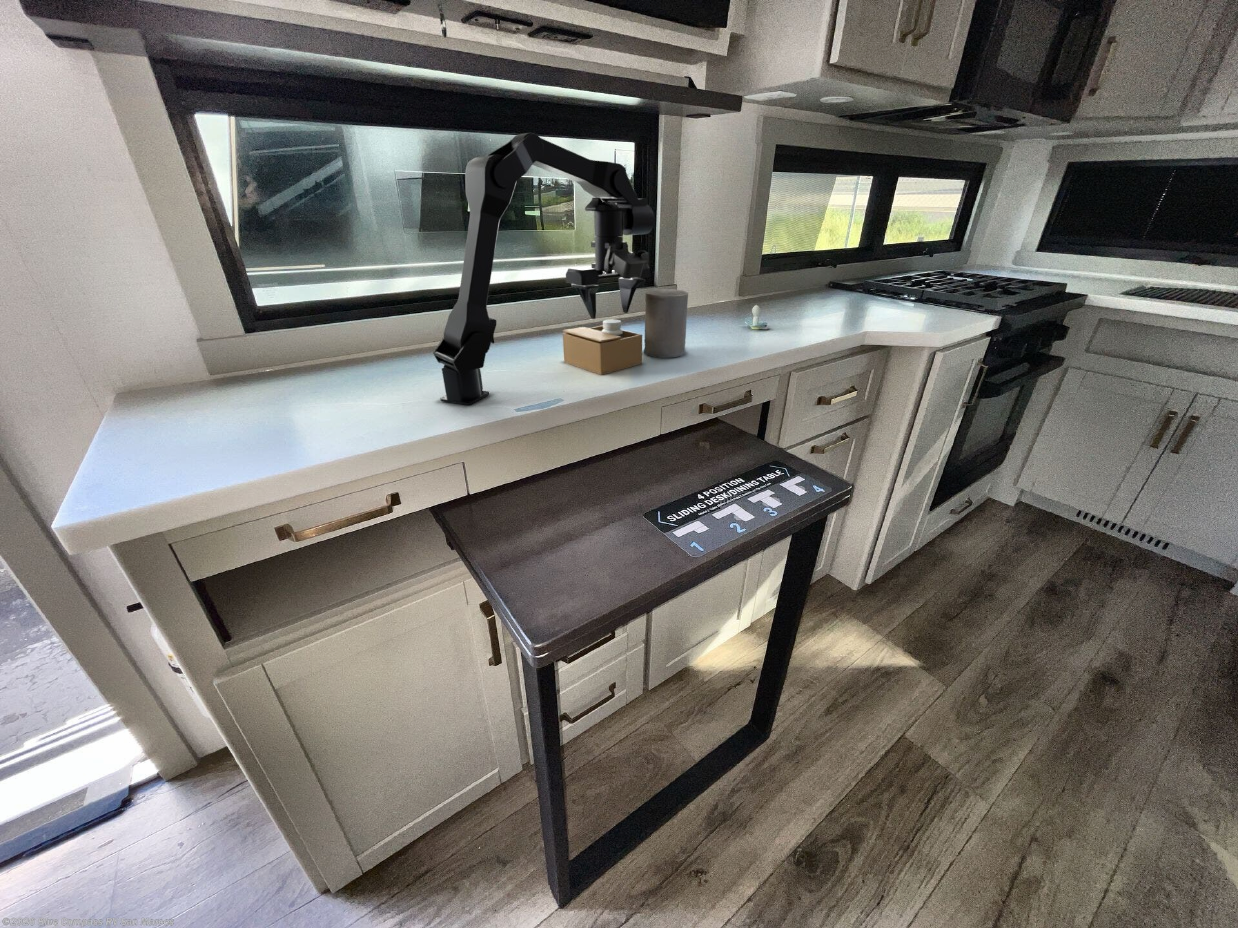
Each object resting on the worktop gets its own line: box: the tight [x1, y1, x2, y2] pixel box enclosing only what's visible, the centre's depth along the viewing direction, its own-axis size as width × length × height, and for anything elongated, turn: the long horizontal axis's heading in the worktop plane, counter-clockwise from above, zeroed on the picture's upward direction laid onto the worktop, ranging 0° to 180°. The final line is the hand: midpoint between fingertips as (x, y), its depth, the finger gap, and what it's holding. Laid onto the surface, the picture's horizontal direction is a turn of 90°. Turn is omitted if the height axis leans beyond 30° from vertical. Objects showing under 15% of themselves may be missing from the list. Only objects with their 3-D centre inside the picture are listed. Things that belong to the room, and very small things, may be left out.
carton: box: [562, 324, 643, 376], centre depth 111 cm, size 12×13×6 cm
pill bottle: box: [601, 318, 623, 343], centre depth 112 cm, size 5×5×8 cm
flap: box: [562, 326, 621, 342], centre depth 107 cm, size 6×13×1 cm, turn 42°
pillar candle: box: [643, 285, 689, 359], centre depth 116 cm, size 10×10×15 cm
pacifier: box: [744, 304, 771, 330], centre depth 140 cm, size 7×6×6 cm
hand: (609, 315), depth 109 cm, fingers open, 9 cm apart
